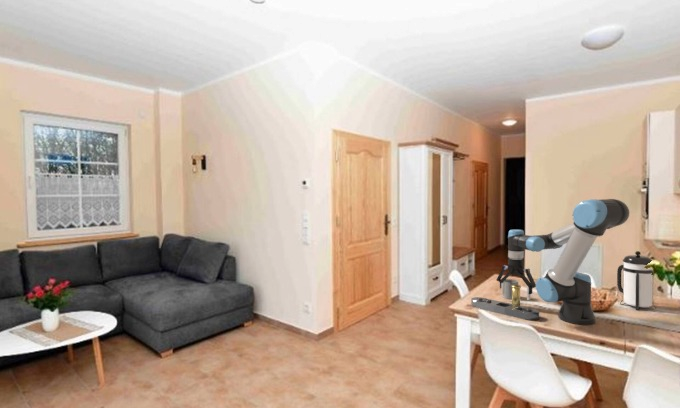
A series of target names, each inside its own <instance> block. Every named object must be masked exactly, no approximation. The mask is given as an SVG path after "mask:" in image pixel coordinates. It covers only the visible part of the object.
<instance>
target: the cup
mask: <svg viewBox="0 0 680 408" xmlns="http://www.w3.org/2000/svg"><path fill="white" fill-rule="evenodd" d="M504 282H505V294H504V295H502V297H503V299H505V300H510V301H512V287H511V285H519V280H516V279H509V278H507V279H506V280H505V281H504Z"/></svg>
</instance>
